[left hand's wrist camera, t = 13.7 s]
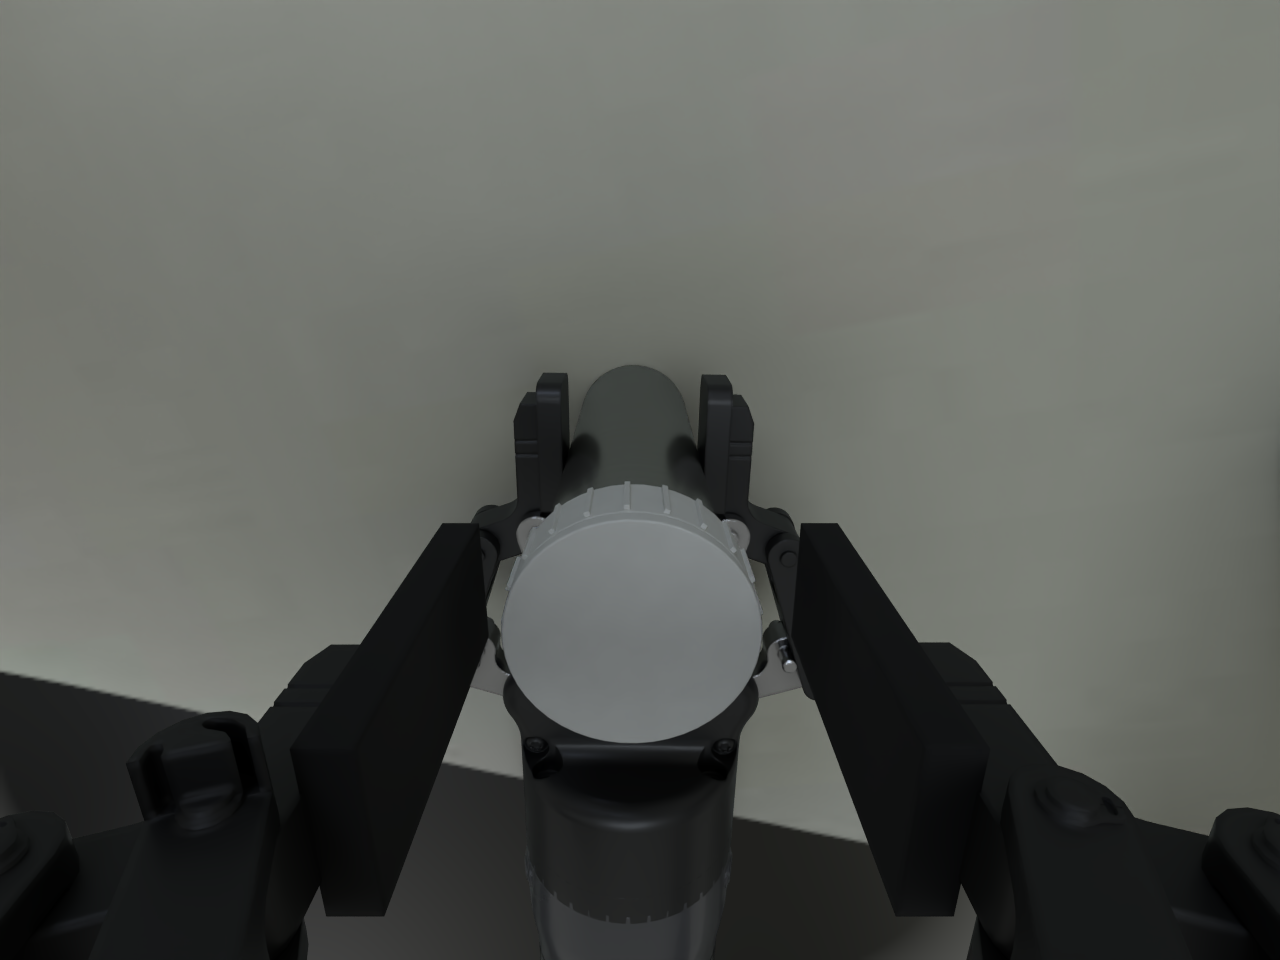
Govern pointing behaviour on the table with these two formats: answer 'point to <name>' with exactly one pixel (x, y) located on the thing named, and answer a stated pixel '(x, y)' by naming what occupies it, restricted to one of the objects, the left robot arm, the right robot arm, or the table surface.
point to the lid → (632, 615)
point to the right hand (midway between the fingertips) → (635, 381)
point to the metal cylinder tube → (633, 438)
